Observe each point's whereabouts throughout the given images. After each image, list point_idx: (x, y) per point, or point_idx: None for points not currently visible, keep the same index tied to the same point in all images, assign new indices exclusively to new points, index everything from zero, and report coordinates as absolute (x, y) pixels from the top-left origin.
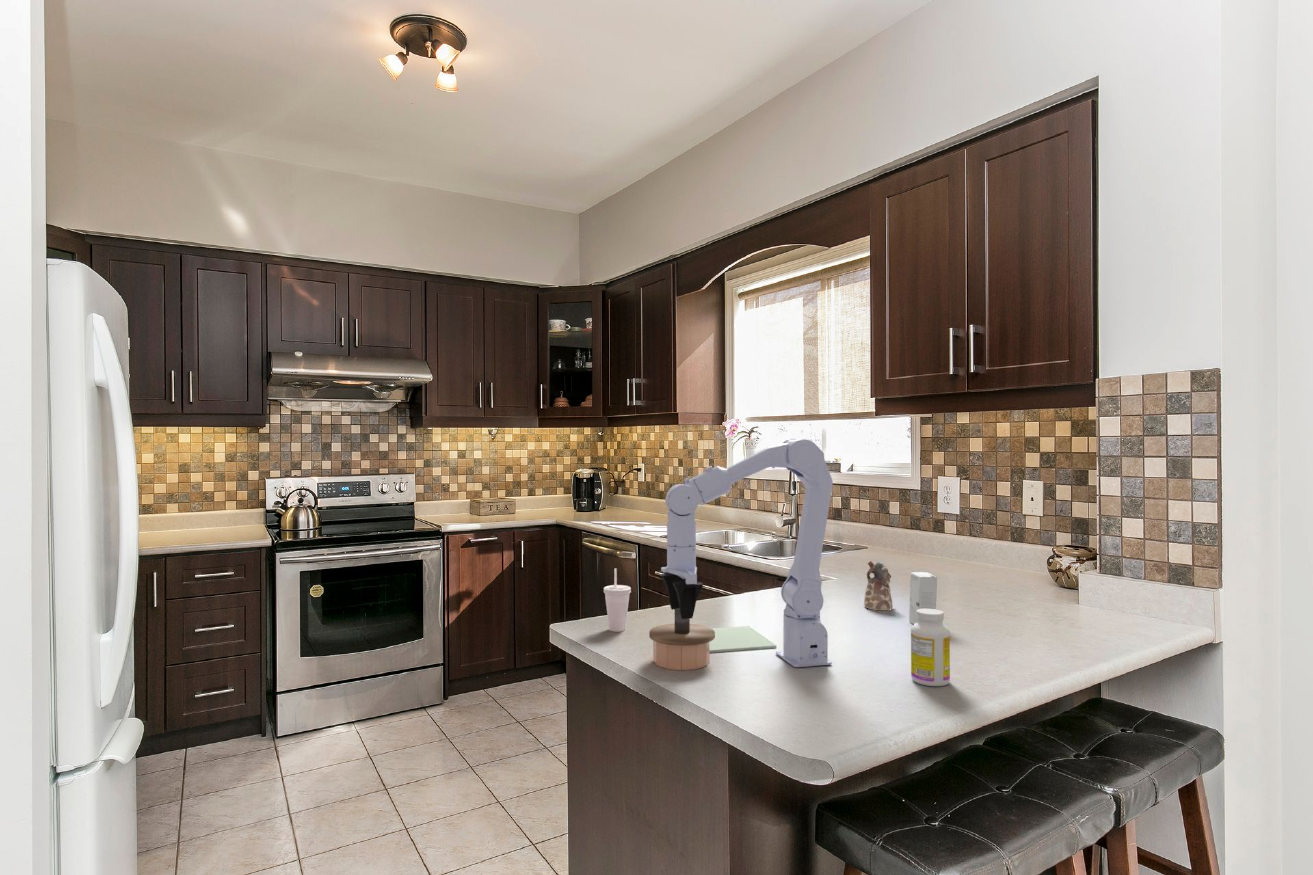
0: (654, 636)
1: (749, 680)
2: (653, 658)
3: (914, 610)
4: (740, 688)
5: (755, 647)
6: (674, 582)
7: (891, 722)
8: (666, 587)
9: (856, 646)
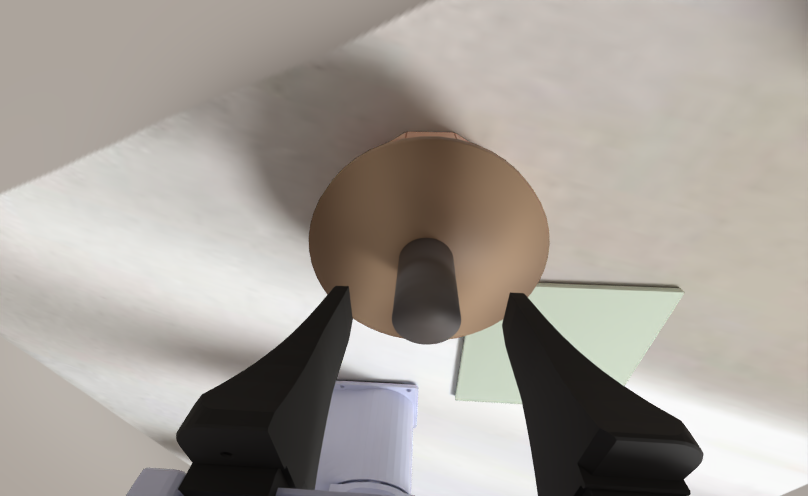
0: (391, 149)
1: (266, 299)
2: (450, 134)
3: None
4: (215, 270)
5: (460, 371)
6: (252, 433)
7: (98, 384)
8: (589, 366)
9: (421, 465)
